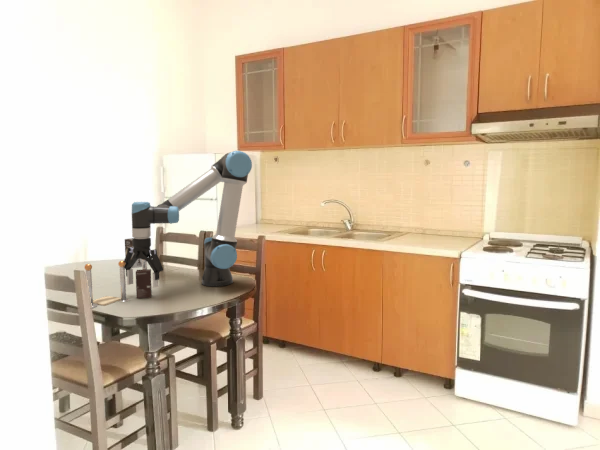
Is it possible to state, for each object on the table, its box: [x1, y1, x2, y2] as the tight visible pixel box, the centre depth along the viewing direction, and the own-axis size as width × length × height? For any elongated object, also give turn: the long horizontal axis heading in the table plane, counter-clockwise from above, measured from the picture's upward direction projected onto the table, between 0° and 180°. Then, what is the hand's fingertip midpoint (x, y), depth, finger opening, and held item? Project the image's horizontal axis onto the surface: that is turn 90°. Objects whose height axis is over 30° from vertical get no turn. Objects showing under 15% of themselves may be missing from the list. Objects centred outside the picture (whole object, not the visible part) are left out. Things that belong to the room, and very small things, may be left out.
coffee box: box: [124, 237, 142, 269], centre depth 257 cm, size 9×6×16 cm
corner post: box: [117, 260, 131, 303], centre depth 186 cm, size 5×5×18 cm
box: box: [135, 268, 153, 299], centre depth 191 cm, size 6×4×12 cm
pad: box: [93, 295, 121, 307], centre depth 185 cm, size 9×10×1 cm
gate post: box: [141, 259, 153, 292], centre depth 199 cm, size 5×5×18 cm
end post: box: [84, 263, 98, 309], centre depth 177 cm, size 5×5×18 cm
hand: (142, 285), depth 191 cm, fingers open, 13 cm apart
